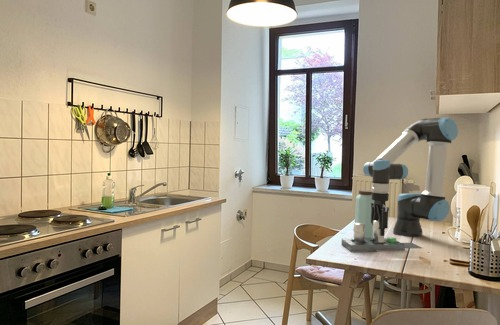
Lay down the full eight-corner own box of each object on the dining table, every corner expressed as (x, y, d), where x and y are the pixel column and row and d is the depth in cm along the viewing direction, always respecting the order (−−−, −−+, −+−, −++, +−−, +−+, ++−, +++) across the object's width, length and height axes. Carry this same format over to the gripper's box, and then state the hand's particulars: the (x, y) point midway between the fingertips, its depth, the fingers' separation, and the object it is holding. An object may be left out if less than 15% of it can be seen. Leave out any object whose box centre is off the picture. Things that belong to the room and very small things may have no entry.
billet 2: (380, 240, 177) (381, 219, 176) (385, 243, 172) (386, 222, 171) (370, 240, 176) (371, 219, 176) (375, 243, 171) (376, 222, 171)
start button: (393, 241, 177) (393, 237, 177) (397, 244, 173) (398, 239, 173) (385, 241, 176) (385, 237, 176) (389, 244, 172) (389, 239, 172)
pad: (411, 243, 183) (411, 242, 183) (423, 249, 173) (423, 248, 173) (392, 243, 182) (393, 242, 182) (403, 249, 172) (403, 248, 172)
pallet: (392, 244, 181) (392, 238, 181) (404, 251, 169) (405, 245, 169) (341, 244, 178) (341, 238, 178) (350, 251, 166) (351, 245, 166)
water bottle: (374, 240, 187) (377, 192, 186) (354, 239, 189) (356, 191, 188) (372, 236, 197) (374, 190, 196) (353, 234, 199) (355, 189, 198)
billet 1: (361, 243, 176) (362, 222, 175) (366, 246, 171) (366, 225, 170) (351, 243, 175) (352, 222, 175) (355, 246, 170) (356, 225, 170)
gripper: (364, 189, 181) (362, 235, 183) (381, 194, 163) (379, 245, 164) (379, 189, 182) (377, 235, 183) (397, 194, 164) (395, 245, 165)
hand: (378, 240), depth 174 cm, fingers open, 5 cm apart
